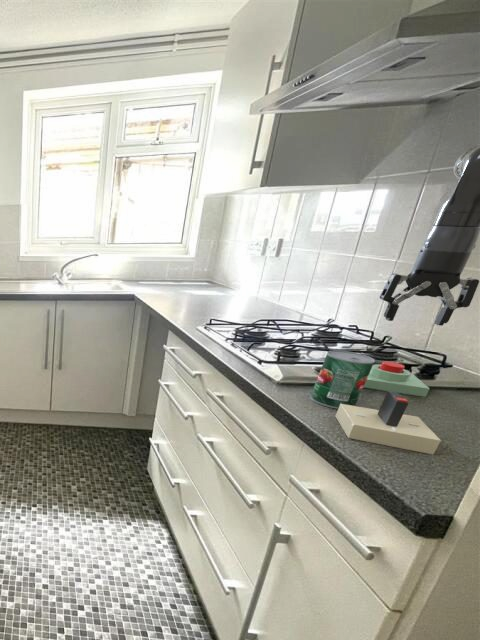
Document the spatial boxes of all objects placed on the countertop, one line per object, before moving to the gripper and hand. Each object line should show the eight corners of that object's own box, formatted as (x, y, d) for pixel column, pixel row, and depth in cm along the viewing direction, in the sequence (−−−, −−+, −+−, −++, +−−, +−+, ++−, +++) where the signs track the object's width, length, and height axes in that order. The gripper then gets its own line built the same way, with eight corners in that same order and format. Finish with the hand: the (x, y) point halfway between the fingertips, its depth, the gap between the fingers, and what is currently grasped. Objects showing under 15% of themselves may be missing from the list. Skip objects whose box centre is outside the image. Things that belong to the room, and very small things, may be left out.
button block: (408, 382, 104) (415, 367, 103) (425, 397, 96) (433, 381, 94) (347, 373, 109) (353, 359, 108) (359, 386, 101) (365, 371, 100)
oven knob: (377, 413, 82) (388, 389, 80) (387, 415, 81) (399, 391, 79) (385, 424, 78) (397, 399, 76) (397, 426, 77) (409, 401, 75)
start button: (398, 369, 102) (401, 363, 101) (404, 375, 99) (407, 368, 98) (377, 366, 104) (379, 360, 103) (382, 372, 100) (385, 365, 100)
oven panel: (411, 430, 82) (418, 415, 81) (433, 455, 74) (441, 439, 73) (335, 416, 87) (340, 402, 86) (348, 438, 79) (354, 423, 78)
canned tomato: (302, 393, 98) (318, 349, 93) (339, 395, 96) (358, 351, 92) (323, 408, 90) (342, 361, 86) (364, 411, 89) (385, 363, 85)
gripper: (483, 248, 89) (447, 322, 95) (395, 245, 95) (367, 315, 101) (504, 252, 83) (464, 330, 89) (409, 248, 89) (378, 322, 95)
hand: (413, 322), depth 95 cm, fingers open, 8 cm apart
